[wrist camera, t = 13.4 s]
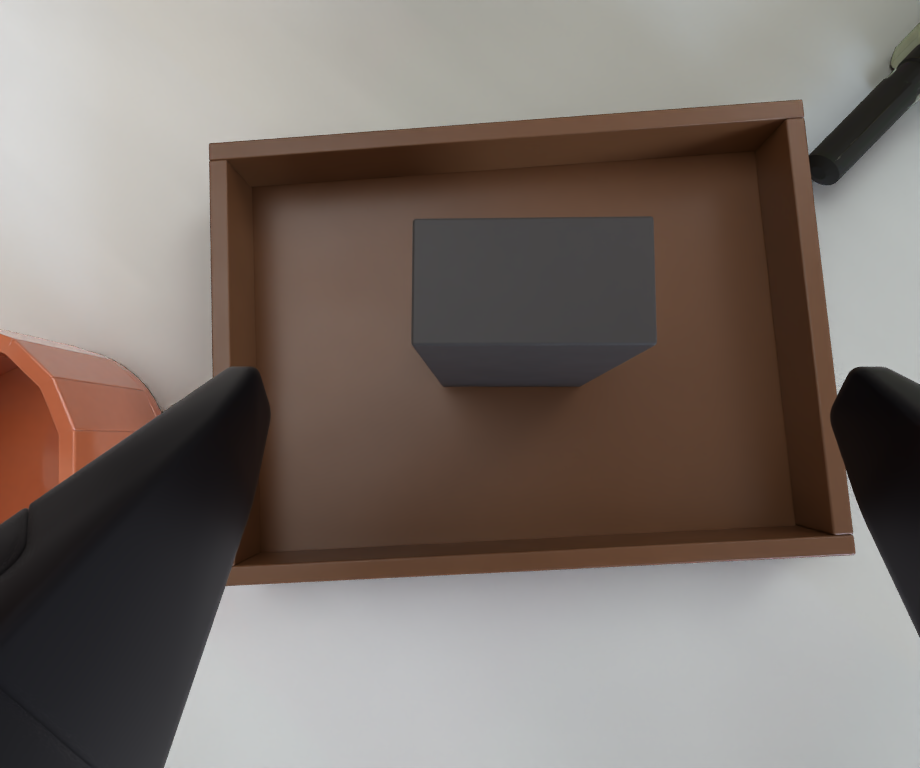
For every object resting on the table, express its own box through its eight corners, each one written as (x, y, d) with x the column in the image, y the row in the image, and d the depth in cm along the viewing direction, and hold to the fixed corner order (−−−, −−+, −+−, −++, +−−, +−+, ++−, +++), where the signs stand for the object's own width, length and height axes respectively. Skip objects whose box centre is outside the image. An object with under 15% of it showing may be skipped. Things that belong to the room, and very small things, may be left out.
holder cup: (171, 572, 21) (73, 613, 16) (-54, 583, 21) (-220, 627, 16) (169, 342, 22) (76, 312, 17) (-48, 355, 22) (-205, 331, 17)
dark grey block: (580, 386, 20) (658, 345, 11) (442, 386, 21) (410, 345, 12) (579, 304, 21) (653, 200, 12) (442, 304, 21) (412, 203, 12)
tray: (807, 539, 20) (856, 555, 17) (250, 567, 21) (215, 587, 18) (762, 141, 21) (803, 98, 19) (241, 178, 22) (208, 142, 19)
